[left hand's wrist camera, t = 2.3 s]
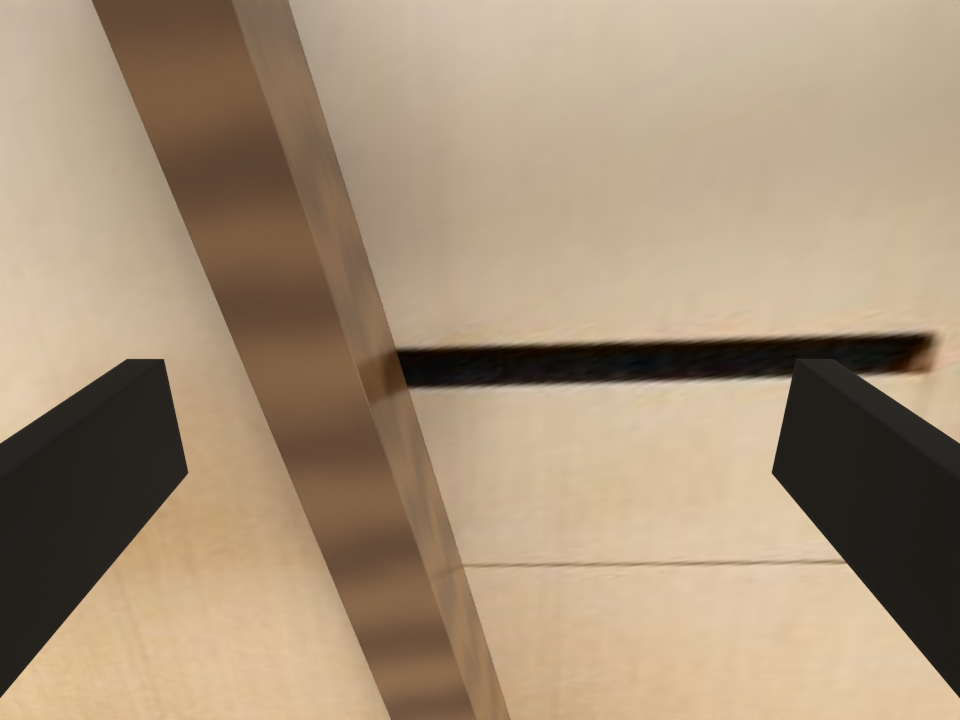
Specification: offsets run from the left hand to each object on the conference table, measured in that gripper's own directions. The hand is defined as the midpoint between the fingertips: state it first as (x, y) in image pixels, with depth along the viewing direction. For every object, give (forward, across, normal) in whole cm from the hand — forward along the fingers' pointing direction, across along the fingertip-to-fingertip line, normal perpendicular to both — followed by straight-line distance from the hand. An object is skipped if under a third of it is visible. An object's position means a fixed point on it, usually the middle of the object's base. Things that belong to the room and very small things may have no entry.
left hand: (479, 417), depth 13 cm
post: (+20, -4, -19) cm, 28 cm away
